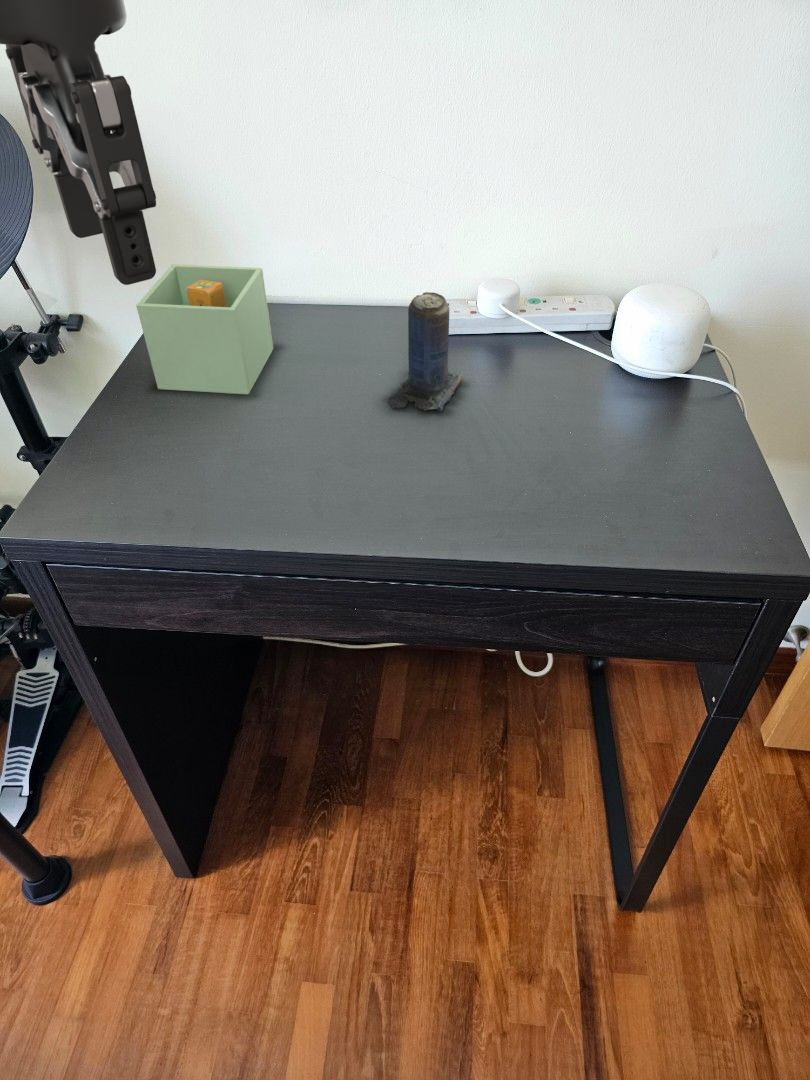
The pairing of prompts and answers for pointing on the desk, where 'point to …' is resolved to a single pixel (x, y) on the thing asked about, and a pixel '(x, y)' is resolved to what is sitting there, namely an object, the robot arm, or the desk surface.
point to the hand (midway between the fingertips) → (112, 255)
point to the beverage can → (427, 356)
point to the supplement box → (206, 294)
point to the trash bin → (207, 330)
